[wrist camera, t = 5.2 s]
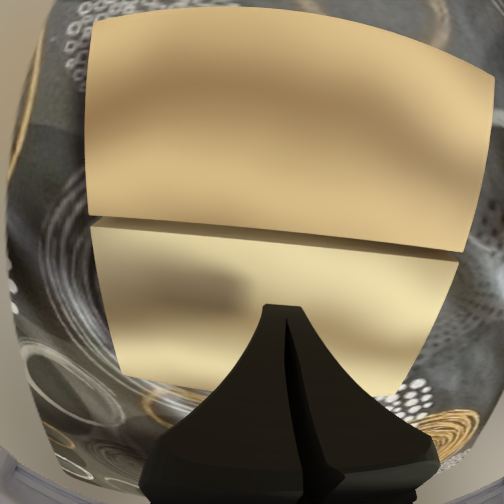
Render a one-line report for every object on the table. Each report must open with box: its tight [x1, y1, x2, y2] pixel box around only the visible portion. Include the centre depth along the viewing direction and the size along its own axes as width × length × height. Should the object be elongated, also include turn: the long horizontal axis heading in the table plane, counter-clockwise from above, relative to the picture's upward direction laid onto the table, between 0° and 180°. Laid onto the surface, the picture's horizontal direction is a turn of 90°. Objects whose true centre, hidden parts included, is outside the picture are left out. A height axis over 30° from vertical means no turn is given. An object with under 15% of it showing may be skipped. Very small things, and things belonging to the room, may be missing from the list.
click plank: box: [90, 216, 459, 397], centre depth 14 cm, size 9×16×2 cm, turn 85°
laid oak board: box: [85, 7, 495, 252], centre depth 10 cm, size 8×16×2 cm, turn 85°
